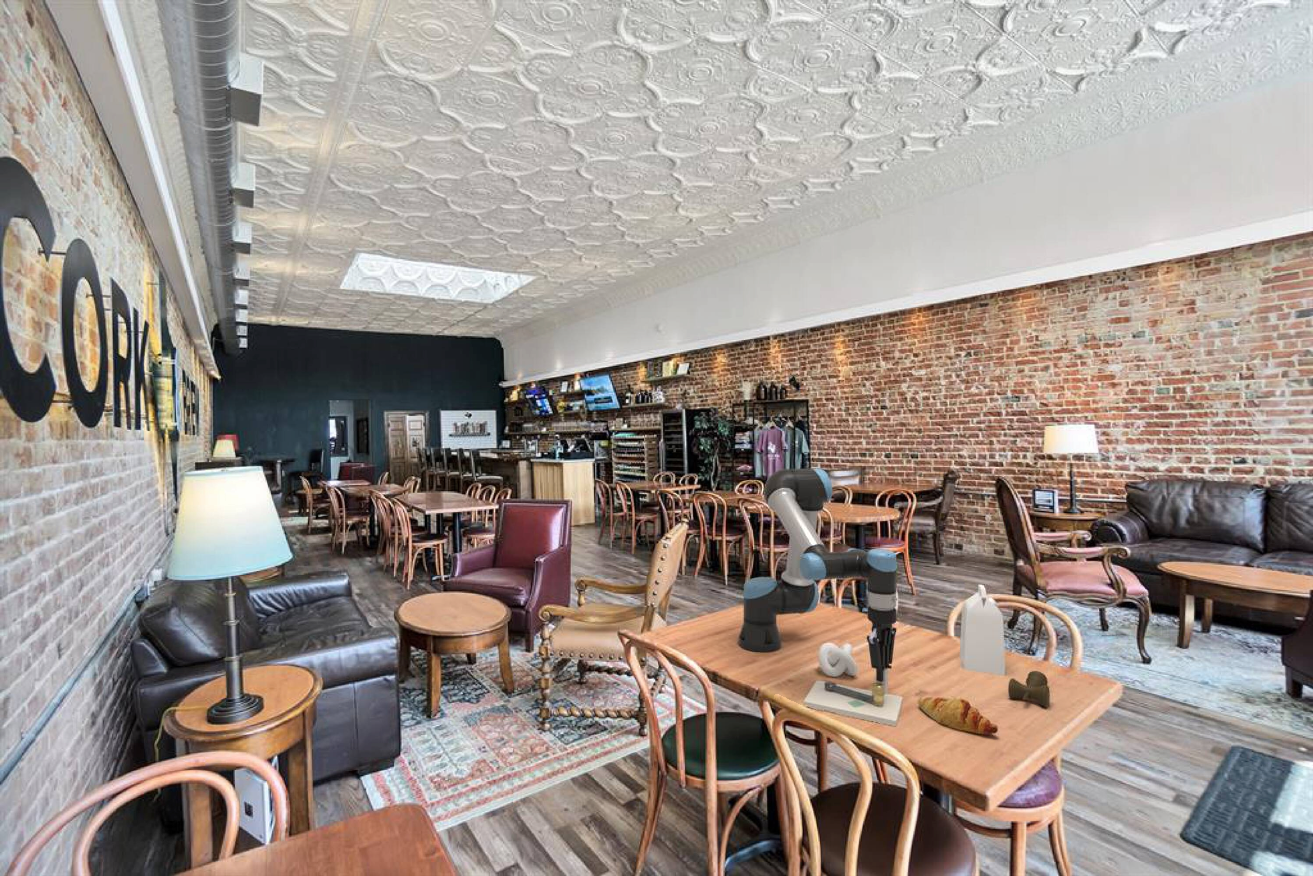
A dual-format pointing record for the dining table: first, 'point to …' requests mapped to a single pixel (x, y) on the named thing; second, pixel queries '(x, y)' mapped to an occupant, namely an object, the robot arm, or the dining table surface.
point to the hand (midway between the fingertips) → (881, 691)
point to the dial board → (854, 704)
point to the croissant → (957, 715)
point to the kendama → (1031, 688)
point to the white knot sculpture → (837, 660)
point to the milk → (982, 635)
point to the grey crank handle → (876, 696)
